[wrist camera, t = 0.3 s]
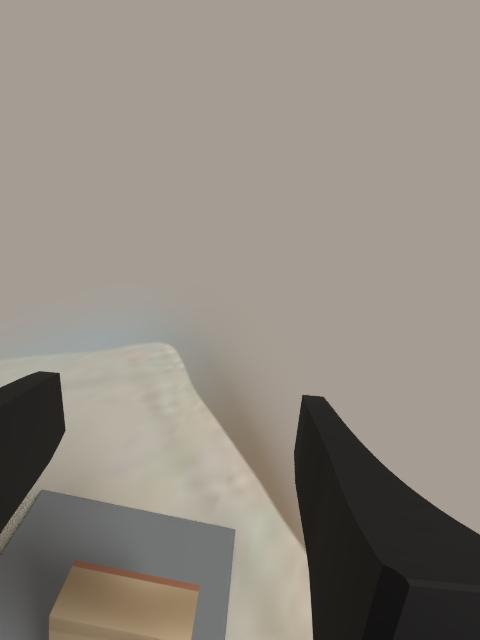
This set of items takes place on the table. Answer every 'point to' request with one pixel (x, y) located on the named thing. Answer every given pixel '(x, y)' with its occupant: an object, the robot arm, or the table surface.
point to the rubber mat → (109, 559)
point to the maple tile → (122, 606)
